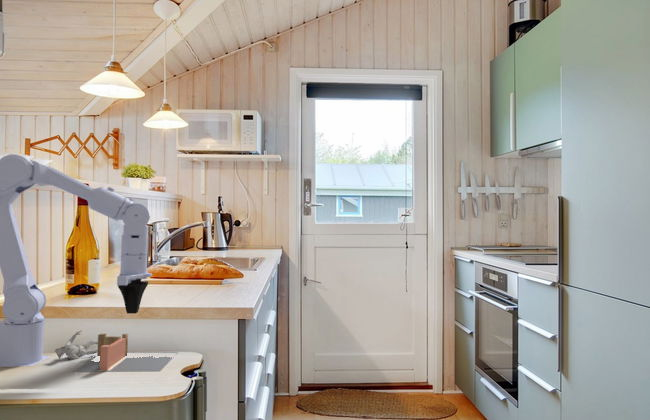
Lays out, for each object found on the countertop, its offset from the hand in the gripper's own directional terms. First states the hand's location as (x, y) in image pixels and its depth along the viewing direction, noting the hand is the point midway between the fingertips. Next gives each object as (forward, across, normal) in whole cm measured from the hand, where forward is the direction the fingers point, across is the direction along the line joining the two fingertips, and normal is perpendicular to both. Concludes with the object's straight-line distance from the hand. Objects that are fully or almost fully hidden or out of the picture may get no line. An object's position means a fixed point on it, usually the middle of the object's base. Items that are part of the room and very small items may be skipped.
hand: (132, 313), depth 103 cm
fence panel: (+9, -10, 0) cm, 13 cm away
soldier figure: (+10, -2, +10) cm, 14 cm away
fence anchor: (+9, -4, +3) cm, 10 cm away
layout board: (+9, -8, -2) cm, 13 cm away
